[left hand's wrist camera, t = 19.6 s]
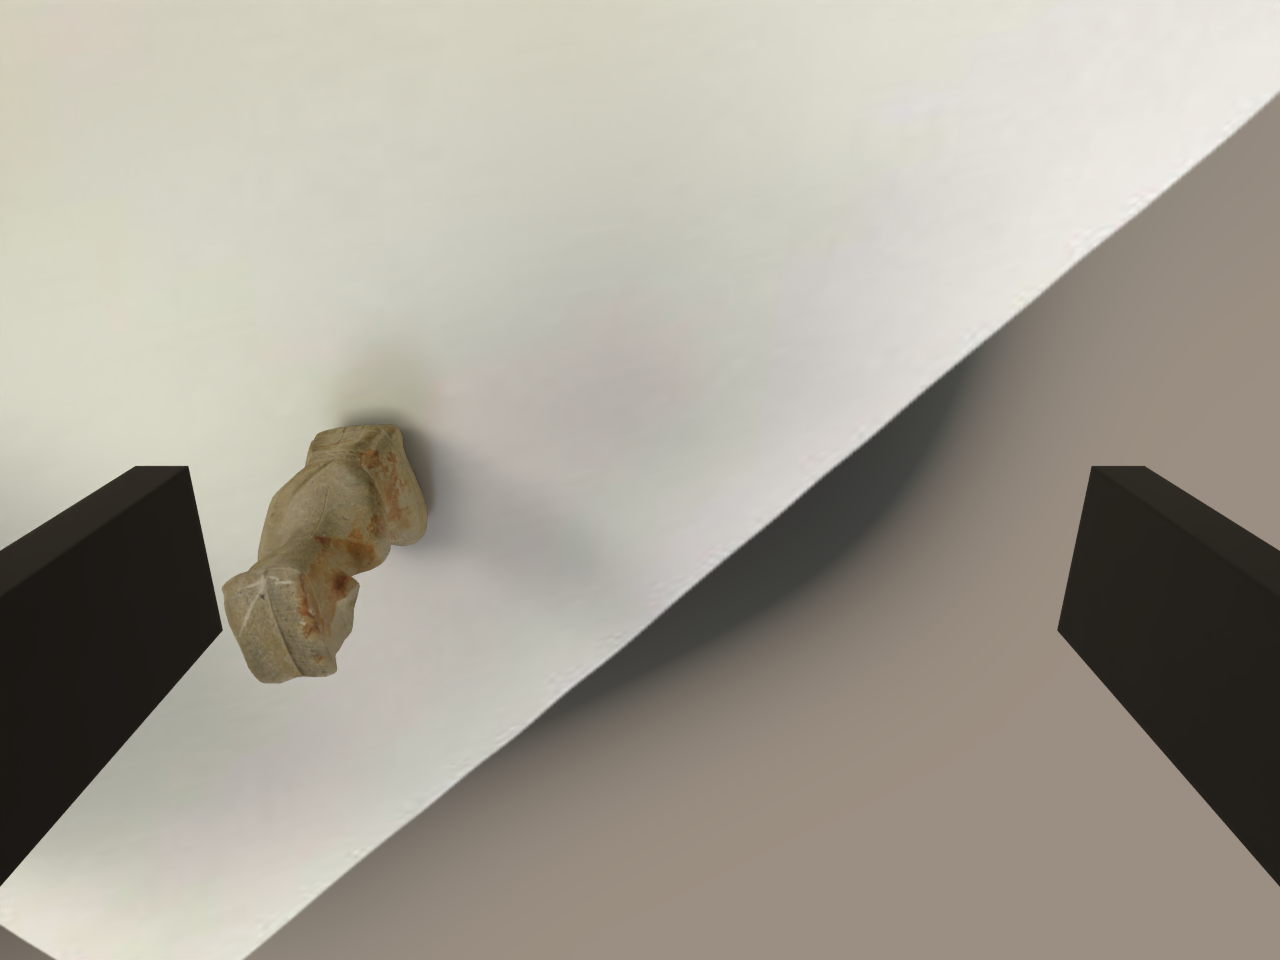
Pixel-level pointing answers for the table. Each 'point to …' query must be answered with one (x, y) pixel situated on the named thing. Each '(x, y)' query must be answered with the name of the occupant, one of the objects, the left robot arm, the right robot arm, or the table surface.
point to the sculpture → (323, 550)
